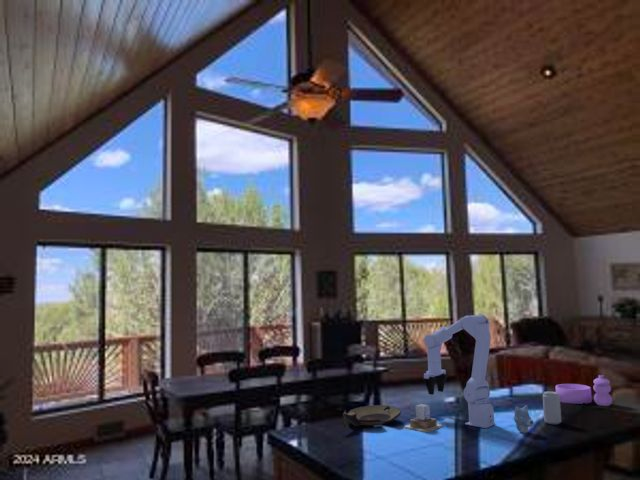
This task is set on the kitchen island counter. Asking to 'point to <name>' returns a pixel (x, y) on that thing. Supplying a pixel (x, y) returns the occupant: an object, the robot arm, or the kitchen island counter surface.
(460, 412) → the kitchen island counter surface
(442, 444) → the kitchen island counter surface
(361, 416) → the olive shallow bowl
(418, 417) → the peg
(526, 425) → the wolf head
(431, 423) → the collar
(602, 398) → the container set
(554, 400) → the beverage can
